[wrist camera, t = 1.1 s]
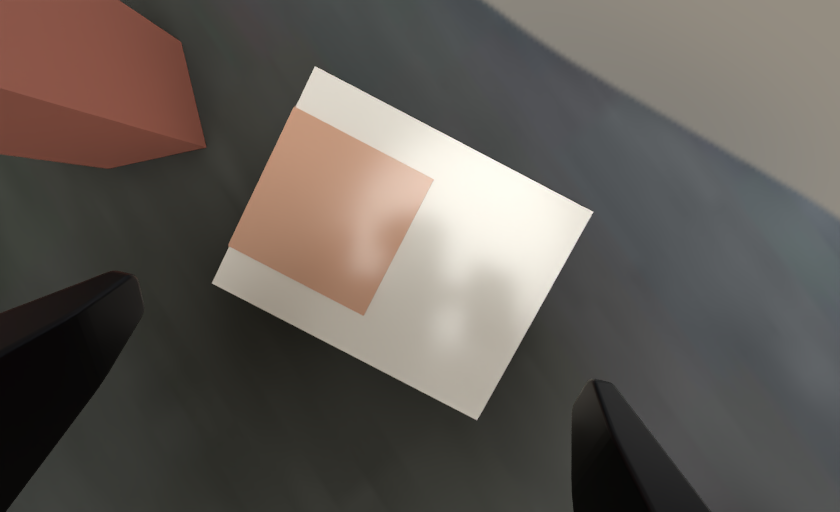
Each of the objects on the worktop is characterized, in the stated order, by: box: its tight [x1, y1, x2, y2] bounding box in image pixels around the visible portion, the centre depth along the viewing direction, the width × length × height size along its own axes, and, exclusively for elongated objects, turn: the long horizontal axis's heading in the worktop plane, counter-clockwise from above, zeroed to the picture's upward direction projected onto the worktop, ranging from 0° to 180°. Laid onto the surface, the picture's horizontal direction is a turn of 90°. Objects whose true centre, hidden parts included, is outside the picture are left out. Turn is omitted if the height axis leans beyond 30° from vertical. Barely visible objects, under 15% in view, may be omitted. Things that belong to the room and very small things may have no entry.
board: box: [212, 66, 593, 420], centre depth 22 cm, size 14×11×1 cm
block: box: [0, 0, 206, 169], centre depth 16 cm, size 5×5×12 cm
